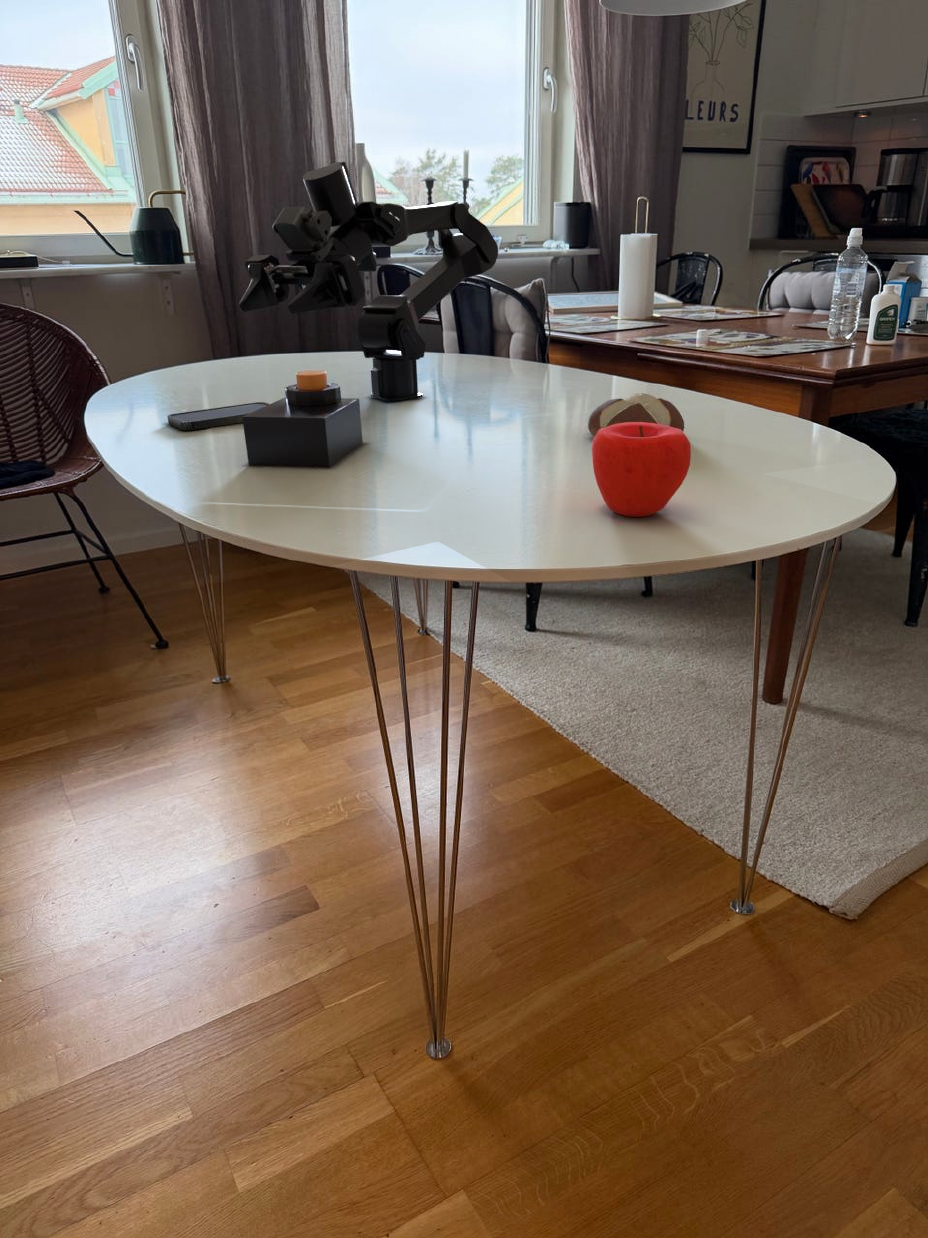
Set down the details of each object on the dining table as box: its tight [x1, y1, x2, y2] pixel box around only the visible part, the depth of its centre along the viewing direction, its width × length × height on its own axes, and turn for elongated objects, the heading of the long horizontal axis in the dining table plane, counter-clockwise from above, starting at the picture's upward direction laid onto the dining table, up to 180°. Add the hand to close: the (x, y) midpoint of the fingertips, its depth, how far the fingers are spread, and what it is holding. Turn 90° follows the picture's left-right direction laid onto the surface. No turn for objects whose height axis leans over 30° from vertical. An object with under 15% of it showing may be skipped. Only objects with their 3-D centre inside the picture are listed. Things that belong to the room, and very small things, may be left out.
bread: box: [587, 393, 685, 437], centre depth 106 cm, size 11×11×5 cm
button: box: [295, 370, 328, 390], centre depth 104 cm, size 4×4×2 cm
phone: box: [166, 401, 270, 431], centre depth 124 cm, size 8×1×15 cm
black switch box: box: [242, 381, 364, 469], centre depth 103 cm, size 13×10×8 cm
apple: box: [591, 422, 692, 518], centre depth 78 cm, size 9×9×8 cm
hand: (264, 309), depth 112 cm, fingers open, 9 cm apart
